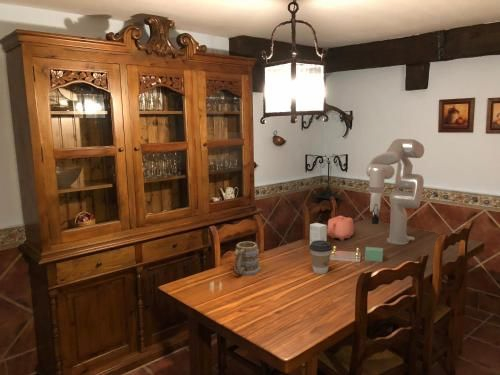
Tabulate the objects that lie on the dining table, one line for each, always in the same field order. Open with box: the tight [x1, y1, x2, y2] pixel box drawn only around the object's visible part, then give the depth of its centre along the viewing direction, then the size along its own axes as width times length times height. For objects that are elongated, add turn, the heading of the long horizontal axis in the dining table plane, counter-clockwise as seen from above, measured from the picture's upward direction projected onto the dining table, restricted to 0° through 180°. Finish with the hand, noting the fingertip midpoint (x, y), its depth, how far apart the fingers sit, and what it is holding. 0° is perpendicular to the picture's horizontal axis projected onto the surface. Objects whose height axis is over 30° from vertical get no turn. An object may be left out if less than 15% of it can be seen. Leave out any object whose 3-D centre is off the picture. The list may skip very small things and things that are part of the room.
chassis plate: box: [329, 245, 362, 263], centre depth 232 cm, size 16×12×4 cm
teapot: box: [327, 215, 355, 242], centre depth 265 cm, size 22×13×14 cm, turn 135°
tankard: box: [233, 240, 261, 276], centre depth 211 cm, size 20×13×15 cm, turn 154°
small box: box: [309, 222, 328, 246], centre depth 251 cm, size 8×6×13 cm
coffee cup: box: [308, 240, 333, 275], centre depth 211 cm, size 11×11×15 cm
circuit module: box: [364, 246, 384, 263], centre depth 228 cm, size 9×5×6 cm, turn 73°
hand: (375, 221), depth 224 cm, fingers open, 9 cm apart
